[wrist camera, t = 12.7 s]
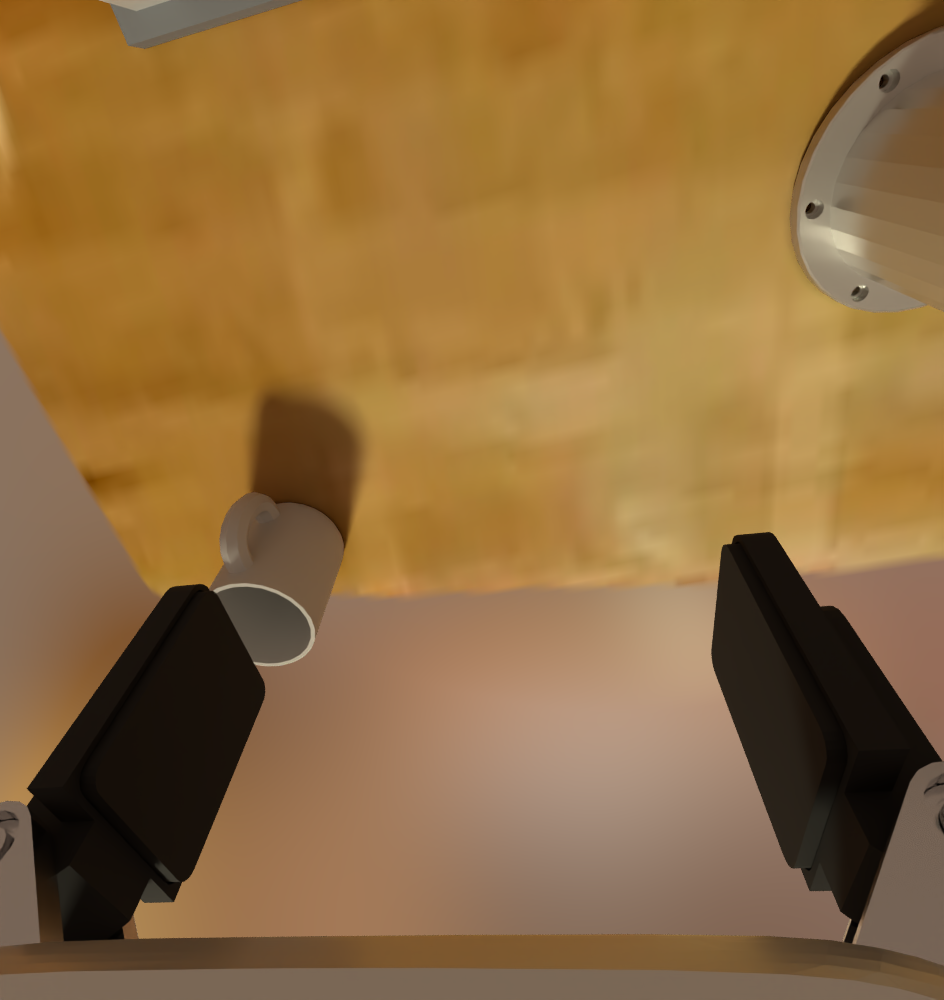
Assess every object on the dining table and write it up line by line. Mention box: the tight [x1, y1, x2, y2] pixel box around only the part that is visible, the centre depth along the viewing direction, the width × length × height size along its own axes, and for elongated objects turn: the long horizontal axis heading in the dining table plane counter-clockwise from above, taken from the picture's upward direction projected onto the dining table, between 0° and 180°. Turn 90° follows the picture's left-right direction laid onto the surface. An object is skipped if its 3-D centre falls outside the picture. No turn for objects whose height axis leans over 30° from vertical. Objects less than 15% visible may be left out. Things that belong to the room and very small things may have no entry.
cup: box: [209, 492, 344, 666], centre depth 39 cm, size 7×10×9 cm
